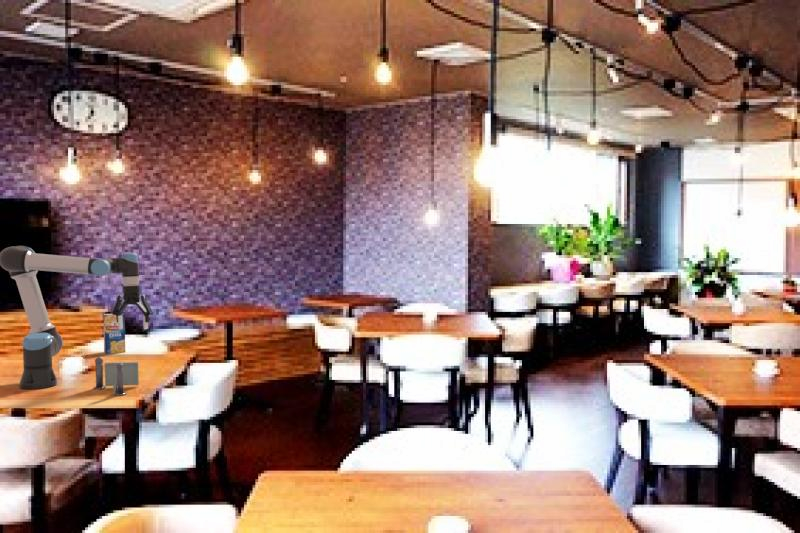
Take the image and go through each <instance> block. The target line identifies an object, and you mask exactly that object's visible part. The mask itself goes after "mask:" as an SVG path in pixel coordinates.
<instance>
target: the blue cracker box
mask: <svg viewBox="0 0 800 533" xmlns="http://www.w3.org/2000/svg"><path fill="white" fill-rule="evenodd" d="M102 315H103V316H102V318H103V319H102V320H103V324H102V325H103V352H104V354H105V355H108V354H119V353H121V354H122V353H126V323H125V321H126V320H125V315H126V314H125V313H123V312H122V316H123V329H118V322H117V318H116V315H114V314H112V313H105V314H104V313H103V314H102Z"/></svg>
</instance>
